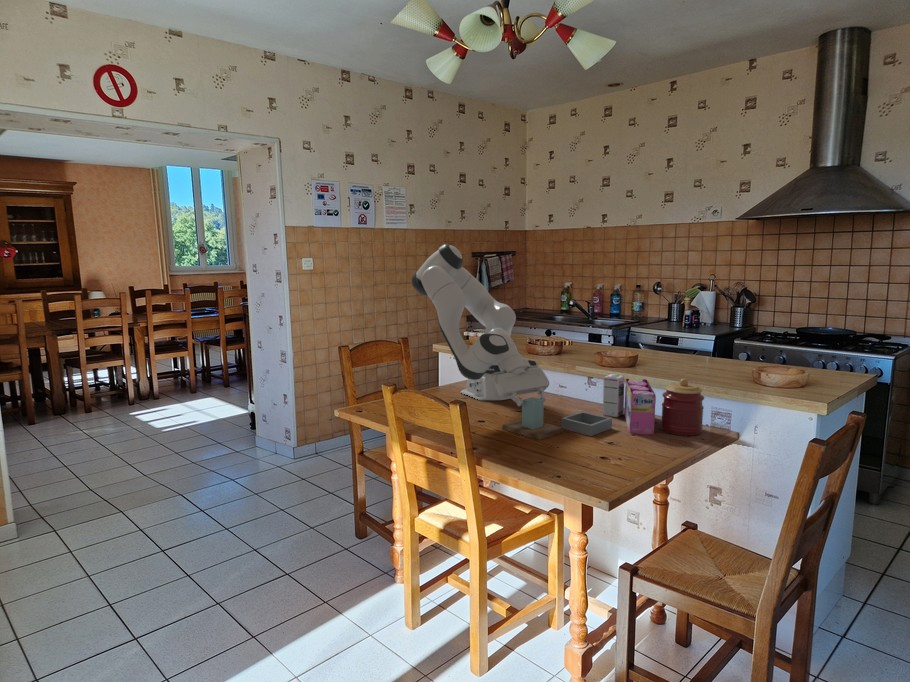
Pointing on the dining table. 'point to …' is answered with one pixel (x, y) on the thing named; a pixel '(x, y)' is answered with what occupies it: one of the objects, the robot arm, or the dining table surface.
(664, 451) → the dining table surface
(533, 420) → the teal block
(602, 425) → the parts bin
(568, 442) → the dining table surface
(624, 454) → the dining table surface
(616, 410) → the syrup box
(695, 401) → the canister
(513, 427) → the walnut board
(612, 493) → the dining table surface
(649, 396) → the gum box
